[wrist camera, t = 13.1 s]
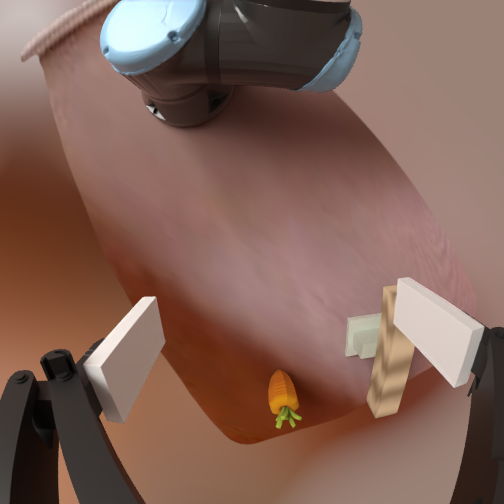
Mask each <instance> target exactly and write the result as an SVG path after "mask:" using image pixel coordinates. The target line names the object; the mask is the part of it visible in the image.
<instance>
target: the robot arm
mask: <svg viewBox="0 0 504 504" xmlns="http://www.w3.org/2000/svg"><path fill="white" fill-rule="evenodd" d="M350 2H351V0H122V1H121V2H119V3H118V4H117V5H116V6H115V7H114V8H113V10H112V11H111V12H110V14H109V15H108V17H107V19H106V21H105V22H104V25H103V27H102V31H101V35H100V46H101V50H102V53H103V55H104V56H105V58H106V59H107V60H108V61H109V62H110V63H111V65H112V67H113V68H114V69H115V70H116V71H117V72H118V73H120V74H122V75H123V76H124V77H126V78H127V79H128V80H129V81H131V82H132V83H133V84H134V85H136V86H137V87H138V88H139V89H141V90H142V97H143V100H144V103H145V105H146V107H147V108H148V110H149V111H150V112H151V113H152V114H153V115H154V116H155V117H156V118H158V119H159V120H161V121H162V122H164V123H166V124H169V125H172V126H177V127H190V126H195V125H199V124H202V123H204V122H207V121H209V120H210V119H212V118H214V117H215V116H216V115H218V114H219V113H220V112H221V111H222V110H223V109H224V108H225V107H226V105H227V104H228V102H229V101H230V99H231V97H232V94H233V91H234V86H235V85H250V86H265V87H276V88H286V89H289V90H291V91H295V92H298V91H312V92H327V91H330V90H333V89H335V88H336V87H337V86H339V85H340V84H341V83H342V82H343V81H344V79H345V78H346V77H347V75H348V73H349V72H350V70H351V68H352V67H353V64H354V62H355V60H356V57H357V54H358V52H359V48H360V41H359V38H360V36H361V35H362V20H361V17H360V15H359V13H358V12H357V11H356V10H355V9H353V8H352V7H351V6H350ZM393 324H394V325H395V326H396V327H397V328H398V329H399V330H400V331H401V332H402V333H403V334H404V335H405V336H406V337H407V338H408V339H409V340H410V341H411V342H412V343H413V344H414V345H415V346H416V347H417V348H418V349H419V350H420V352H421V353H422V354H423V355H424V356H425V357H426V358H427V359H428V360H429V361H430V362H431V363H432V364H433V365H434V366H435V368H436V369H437V370H438V371H439V372H440V373H441V374H442V375H443V376H444V377H445V378H446V379H447V381H448V382H449V383H450V384H451V385H452V386H453V387H454V388H455V387H458V386H461V385H463V384H465V383H467V380H468V378H469V375H470V372H472V373H474V374H475V378H474V380H473V383H472V385H471V388H470V390H469V393H468V395H467V396H468V397H469V396H470V394H471V393H472V398H471V408H470V417H469V424H468V431H467V437H466V443H465V448H464V453H463V457H462V463H461V466H460V470H459V475H458V478H457V482H456V485H455V489H454V492H453V496H452V498H451V501H450V504H504V328H503V327H495V328H492V329H491V330H490V329H489V328H487V327H486V326H485V325H483V324H482V323H480V322H479V321H477V320H475V319H474V318H473V317H471V316H470V315H468V314H467V313H465V312H464V311H462V310H460V309H458V308H457V307H455V306H453V305H452V304H450V303H449V302H447V301H446V300H444V299H443V298H441V297H440V296H438V295H437V294H435V293H433V292H432V291H430V290H429V289H427V288H426V287H424V286H422V285H421V284H419V283H418V282H416V281H414V280H413V279H411V278H409V277H407V278H399V279H398V284H397V295H396V304H395V312H394V320H393ZM164 343H165V339H164V334H163V329H162V325H161V320H160V315H159V310H158V304H157V299H156V297H143V298H142V299H141V300H140V301H139V302H138V303H137V304H136V305H135V306H134V307H133V308H132V310H131V311H130V312H129V313H128V314H127V315H126V316H125V317H124V318H123V319H122V321H121V322H120V323H119V324H118V325H117V326H116V327H115V328H114V329H113V331H112V332H111V333H110V334H109V335H108V336H107V337H106V338H102V339H101V340H99V341H97V342H96V343H94V344H93V345H92V347H91V348H90V349H89V351H87V352H86V353H85V355H83V356H82V358H81V359H80V360H79V361H78V362H77V363H76V364H75V363H74V360H73V357H72V355H71V353H70V351H68V350H66V349H58V350H53V351H51V352H48V353H47V354H45V355H44V356H43V357H42V358H41V360H40V363H41V365H42V368H43V370H44V372H45V375H46V377H47V379H48V381H37V380H36V378H35V376H34V374H33V372H31V371H29V370H23V371H18V372H15V373H14V374H13V375H12V376H11V377H10V378H9V380H8V382H7V384H6V387H5V389H4V392H3V394H2V397H1V400H0V504H59V493H58V451H59V441H60V445H61V449H62V452H63V456H64V459H65V463H66V466H67V470H68V472H69V475H70V479H71V482H72V484H73V487H74V490H75V493H76V495H77V498H78V500H79V503H80V504H146V503H145V502H144V500H143V498H142V497H141V495H140V494H139V492H138V491H137V489H136V487H135V486H134V484H133V482H132V481H131V479H130V477H129V476H128V474H127V472H126V470H125V469H124V467H123V465H122V463H121V461H120V459H119V458H118V456H117V454H116V452H115V450H114V448H113V446H112V444H111V442H110V440H109V438H108V435H107V433H106V431H105V429H104V427H103V425H102V422H101V420H100V419H99V415H100V414H101V412H102V410H103V412H104V414H105V416H106V418H107V420H108V421H111V422H117V423H123V424H124V423H125V421H126V419H127V417H128V415H129V413H130V411H131V409H132V407H133V405H134V403H135V401H136V399H137V397H138V395H139V393H140V391H141V389H142V387H143V385H144V383H145V381H146V379H147V376H148V375H149V373H150V371H151V369H152V367H153V365H154V363H155V361H156V359H157V357H158V355H159V353H160V351H161V349H162V347H163V345H164Z"/></svg>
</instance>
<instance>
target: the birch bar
mask: <svg viewBox="0 0 504 504" xmlns="http://www.w3.org/2000/svg"><path fill="white" fill-rule="evenodd" d="M396 295H397V285H393V286H385V287H384V288H383V299H382V309H381V318H380V326H379V334H378V341H377V347H376V354H375V360H374V365H373V371H372V376H371V381H370V386H369V391H368V396H367V402H368V404H369V406H370V408H371V410H372V412H373V414H374V416H375V418H378V417H383V416H387V415H390V414H394V413H397V410H398V407H399V404H400V401H401V398H402V394H403V391H404V388H405V384H406V381H407V377H408V373H409V369H410V365H411V361H412V357H413V353H414V348H415V345H414V344H413V343H412V342H411V341H410V340H409V339H408V338H407V337H406V336H405V335H404V334H403V333H402V332H401V331H400V330H399V329H398V328H397V327H396V326H395V325H394V324H393V320H394V312H395V304H396Z"/></svg>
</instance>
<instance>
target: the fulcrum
mask: <svg viewBox="0 0 504 504" xmlns="http://www.w3.org/2000/svg"><path fill="white" fill-rule="evenodd" d="M380 318H381V313H378V314H371V315H364V316H357V317H349V318H348V324H347V336H346V347H345V355H346V357H347V356H354V355H359V357H360V358H361V359H364V358H370V357H375V354H376V347H377V341H378V334H379V326H380Z"/></svg>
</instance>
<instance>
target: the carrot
mask: <svg viewBox="0 0 504 504" xmlns="http://www.w3.org/2000/svg"><path fill="white" fill-rule="evenodd" d="M269 405H270V408H271V410H272V413H274V414H277V415H279V416H278V417H277V419H276V421H277V424H276V427H277V428H281V425H282V421H283V420H288V419H289V421H290V424H291V426H292V427H295V423H294V421H293V419H292V417H291V415H292V416H293V417H294V418H295V419H298V420H301V418H302V417H301V416H299V415H297V414H296V413H295V412H294V411H295V410H296V409H297V408H298V407H299V403H298V399H297V396H296V392H295V388H294V385H293V382H292V380H291V379H290V377H289V375H288V374H287V373H286V372H284V371H283V370H281V369H277V370H276V372H275V373H274V374H273V376H272V378H271V380H270V384H269ZM290 414H291V415H290Z"/></svg>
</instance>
